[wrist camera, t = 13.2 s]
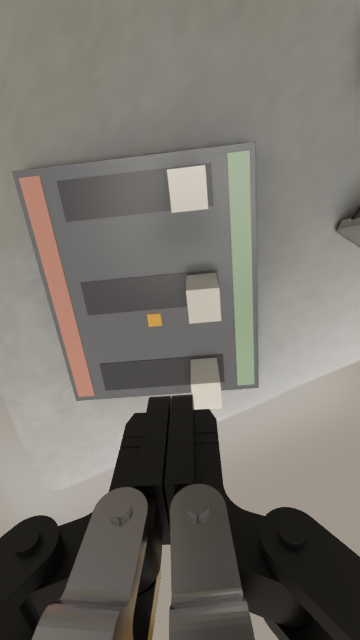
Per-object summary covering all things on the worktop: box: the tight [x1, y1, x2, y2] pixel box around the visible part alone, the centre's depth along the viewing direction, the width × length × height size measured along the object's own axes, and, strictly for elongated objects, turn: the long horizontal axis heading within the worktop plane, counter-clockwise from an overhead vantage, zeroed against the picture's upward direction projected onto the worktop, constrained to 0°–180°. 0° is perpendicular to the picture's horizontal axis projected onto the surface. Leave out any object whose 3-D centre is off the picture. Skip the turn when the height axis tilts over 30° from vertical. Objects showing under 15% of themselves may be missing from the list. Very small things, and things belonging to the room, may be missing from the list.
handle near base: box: [167, 165, 208, 213], centre depth 23 cm, size 3×2×4 cm
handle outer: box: [191, 358, 222, 410], centre depth 29 cm, size 3×2×4 cm
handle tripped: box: [186, 273, 221, 324], centre depth 26 cm, size 3×2×4 cm
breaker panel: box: [12, 142, 259, 401], centre depth 29 cm, size 21×18×3 cm
